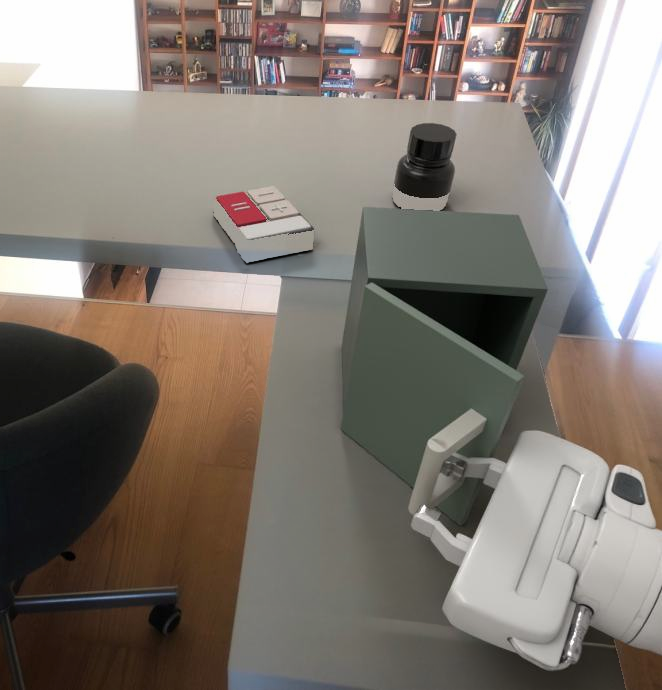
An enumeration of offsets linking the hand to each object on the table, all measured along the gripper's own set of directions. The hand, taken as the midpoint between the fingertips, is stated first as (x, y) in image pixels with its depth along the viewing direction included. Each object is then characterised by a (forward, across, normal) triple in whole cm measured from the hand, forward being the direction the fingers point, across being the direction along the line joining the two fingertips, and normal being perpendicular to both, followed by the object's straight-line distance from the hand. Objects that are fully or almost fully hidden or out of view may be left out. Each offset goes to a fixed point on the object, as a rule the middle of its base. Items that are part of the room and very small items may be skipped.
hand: (430, 487), depth 59 cm
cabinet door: (+5, +5, -9) cm, 12 cm away
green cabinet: (+8, +21, -9) cm, 24 cm away
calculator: (+40, +40, -9) cm, 58 cm away
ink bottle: (+24, +62, -9) cm, 67 cm away
